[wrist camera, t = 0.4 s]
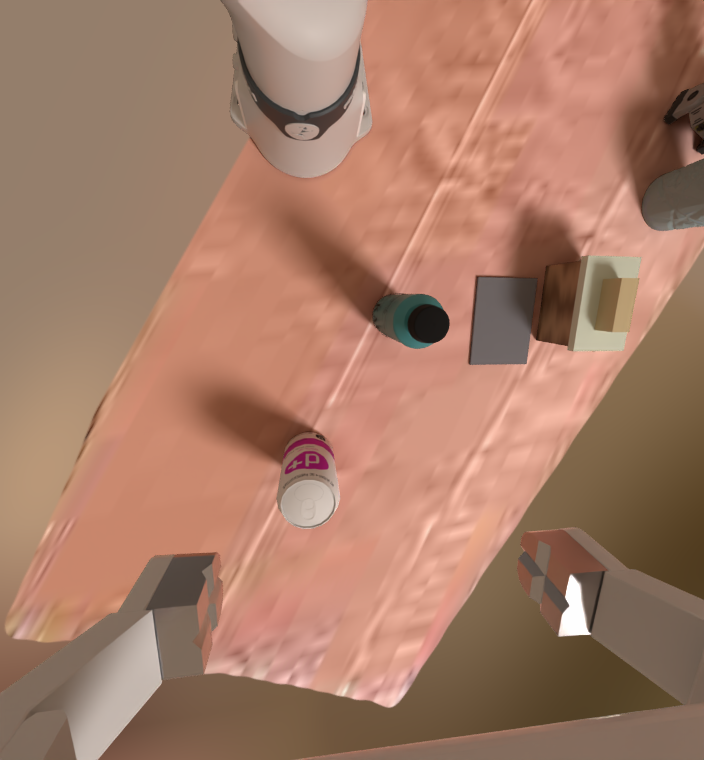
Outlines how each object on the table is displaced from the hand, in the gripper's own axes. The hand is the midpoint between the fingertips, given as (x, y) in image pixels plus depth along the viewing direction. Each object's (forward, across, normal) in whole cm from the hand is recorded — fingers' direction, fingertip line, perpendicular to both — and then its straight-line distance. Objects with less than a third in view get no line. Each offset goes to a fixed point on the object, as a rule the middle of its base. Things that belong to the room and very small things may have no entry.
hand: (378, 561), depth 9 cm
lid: (+39, -40, -6) cm, 56 cm away
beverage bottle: (+47, -11, -4) cm, 48 cm away
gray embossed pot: (+47, -56, -22) cm, 76 cm away
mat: (+47, -30, -3) cm, 55 cm away
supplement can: (+47, +2, +19) cm, 50 cm away
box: (+47, -40, -6) cm, 62 cm away
